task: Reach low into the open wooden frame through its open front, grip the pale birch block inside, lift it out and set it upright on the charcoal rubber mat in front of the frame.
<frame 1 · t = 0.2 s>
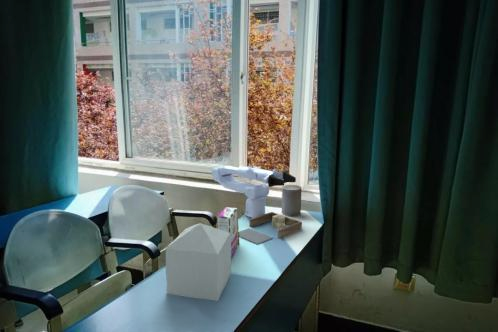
hand: (289, 181, 153), 21 cm above the table, tool horizontal, fingers open, 7 cm apart
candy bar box: (227, 254, 130), on the table
ammunition clip: (227, 242, 141), on the table
pillar candle: (290, 213, 177), on the table
decorative block: (200, 284, 109), on the table
birch block: (278, 227, 158), on the table
open wooden frame: (278, 226, 158), on the table
mat: (252, 236, 146), on the table
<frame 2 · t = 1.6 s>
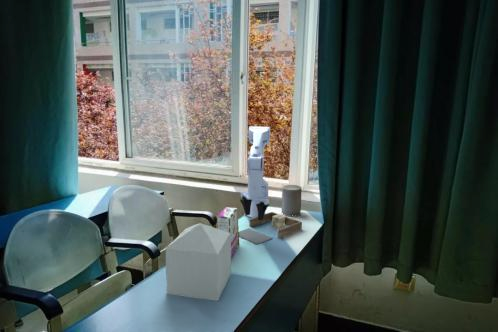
hand: (254, 217, 145), 8 cm above the table, tool pointing down, fingers open, 7 cm apart
nothing on the table moved.
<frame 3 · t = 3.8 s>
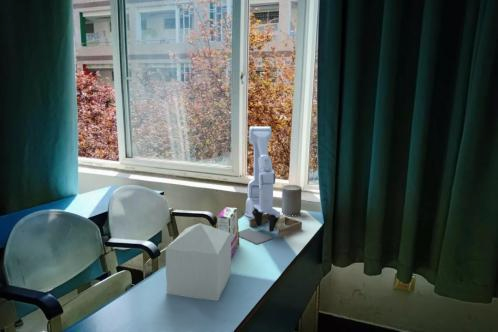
hand: (265, 228, 152), 1 cm above the table, tool pointing down, fingers open, 7 cm apart
nothing on the table moved.
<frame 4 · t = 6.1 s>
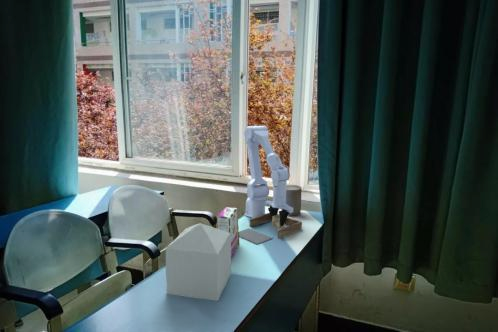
hand: (278, 223, 158), 1 cm above the table, tool pointing down, fingers closed on birch block, 4 cm apart
birch block: (278, 226, 158), on the table, touching gripper
everything else where it was.
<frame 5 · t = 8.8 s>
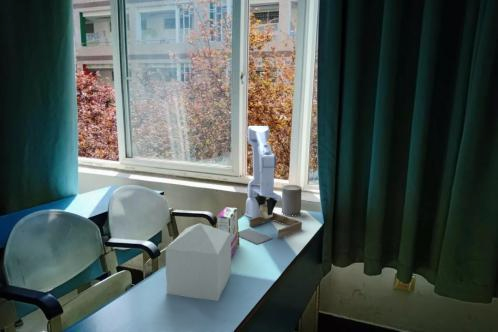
hand: (266, 213, 150), 8 cm above the table, tool pointing down, fingers closed on birch block, 4 cm apart
birch block: (266, 216, 151), point 7 cm above the table, touching gripper
everything else where it was.
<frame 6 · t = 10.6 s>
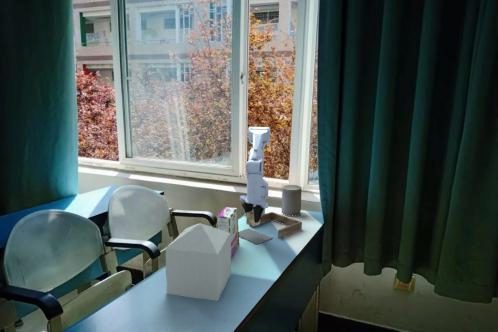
hand: (253, 220, 145), 7 cm above the table, tool pointing down, fingers closed on birch block, 4 cm apart
birch block: (253, 224, 145), point 5 cm above the table, touching gripper
everything else where it was.
when the fingers open (3 cm above the table, at t = 11.9 s): birch block stays where it is, resting on mat.
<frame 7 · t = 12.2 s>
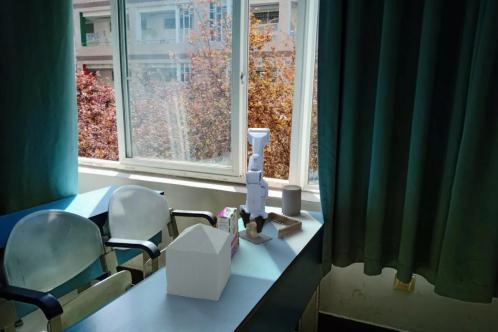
hand: (252, 230, 146), 3 cm above the table, tool pointing down, fingers open, 7 cm apart
birch block: (252, 235, 146), resting on mat
everything else where it was.
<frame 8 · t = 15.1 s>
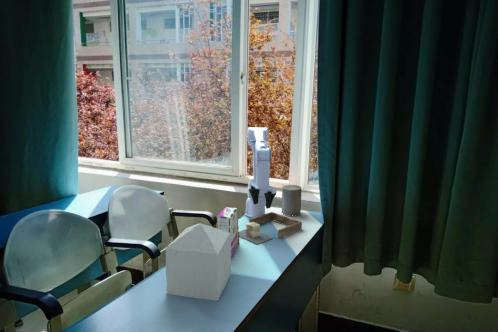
hand: (261, 205, 154), 10 cm above the table, tool pointing down, fingers open, 7 cm apart
nothing on the table moved.
at the end: birch block inside the target area (0.1 cm from its centre), resting on mat; birch block tilted 0°; the gripper is holding nothing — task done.
